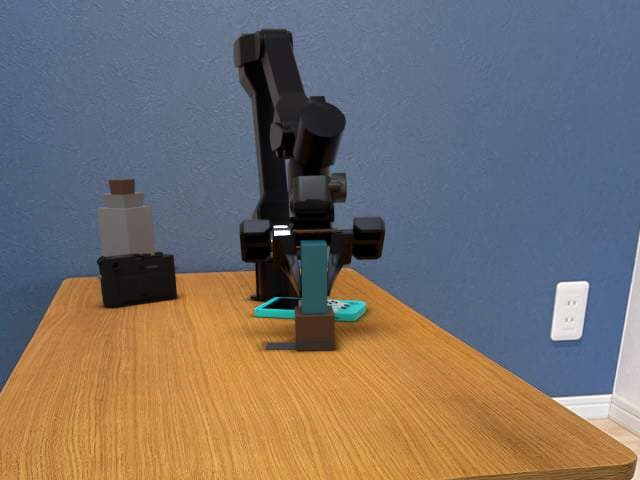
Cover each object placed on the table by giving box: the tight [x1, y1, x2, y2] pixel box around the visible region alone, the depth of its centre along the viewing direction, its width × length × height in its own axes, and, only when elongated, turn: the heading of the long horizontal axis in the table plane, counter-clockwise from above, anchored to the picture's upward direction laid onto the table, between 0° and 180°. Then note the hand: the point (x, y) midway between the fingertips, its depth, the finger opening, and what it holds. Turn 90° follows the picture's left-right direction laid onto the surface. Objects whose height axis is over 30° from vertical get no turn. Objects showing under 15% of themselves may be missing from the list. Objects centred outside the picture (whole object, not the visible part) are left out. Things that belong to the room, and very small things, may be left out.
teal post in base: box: [294, 240, 336, 352], centre depth 110 cm, size 6×5×13 cm
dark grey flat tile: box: [265, 341, 296, 351], centre depth 113 cm, size 4×4×1 cm
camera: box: [96, 251, 178, 309], centre depth 142 cm, size 14×7×8 cm, turn 124°
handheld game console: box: [254, 297, 367, 322], centre depth 132 cm, size 10×16×1 cm, turn 72°
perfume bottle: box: [96, 178, 156, 257], centre depth 153 cm, size 7×7×18 cm
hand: (314, 294), depth 109 cm, fingers closed on teal post in base, 3 cm apart
